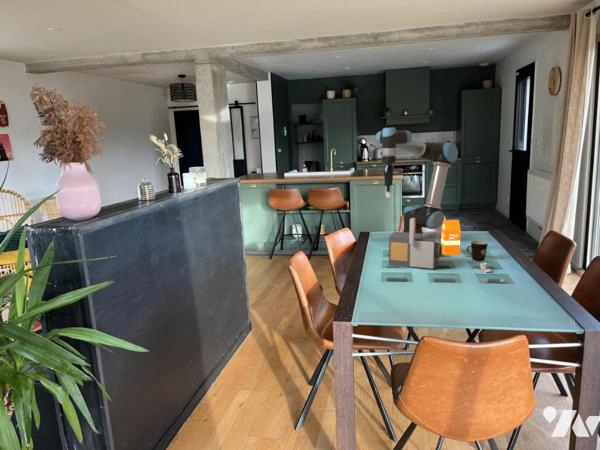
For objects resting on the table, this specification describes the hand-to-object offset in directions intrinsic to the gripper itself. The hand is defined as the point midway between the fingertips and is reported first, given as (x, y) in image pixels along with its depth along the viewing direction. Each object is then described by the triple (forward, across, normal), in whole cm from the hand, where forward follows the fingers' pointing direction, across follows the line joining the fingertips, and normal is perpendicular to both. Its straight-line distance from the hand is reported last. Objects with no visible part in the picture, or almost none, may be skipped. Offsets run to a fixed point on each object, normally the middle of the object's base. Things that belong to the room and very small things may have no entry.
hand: (388, 196), depth 261 cm
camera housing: (+34, +14, +19) cm, 42 cm away
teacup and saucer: (+35, +15, +53) cm, 65 cm away
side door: (+33, +22, +24) cm, 47 cm away
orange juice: (+35, -15, +33) cm, 50 cm away
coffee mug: (+35, -6, +48) cm, 59 cm away
